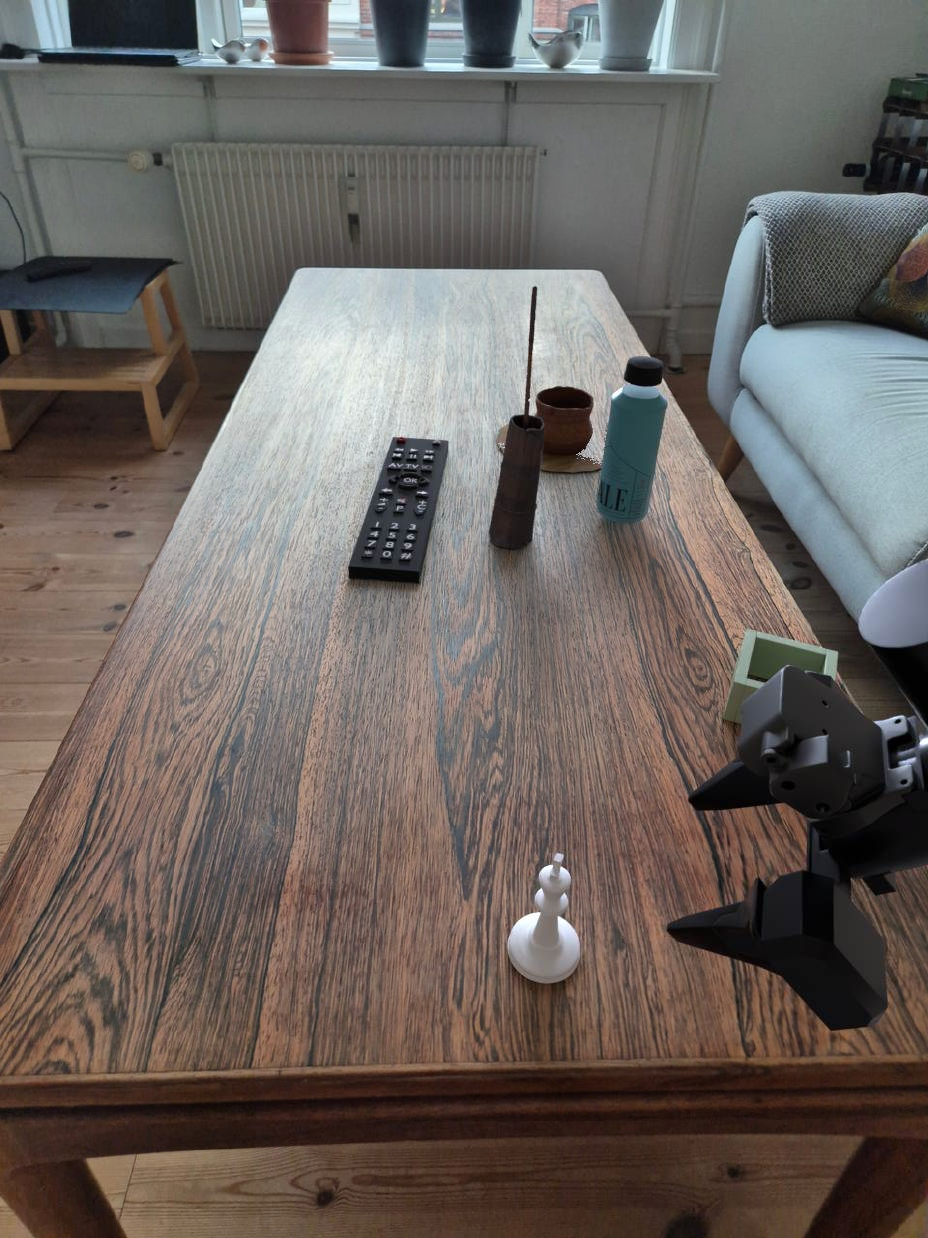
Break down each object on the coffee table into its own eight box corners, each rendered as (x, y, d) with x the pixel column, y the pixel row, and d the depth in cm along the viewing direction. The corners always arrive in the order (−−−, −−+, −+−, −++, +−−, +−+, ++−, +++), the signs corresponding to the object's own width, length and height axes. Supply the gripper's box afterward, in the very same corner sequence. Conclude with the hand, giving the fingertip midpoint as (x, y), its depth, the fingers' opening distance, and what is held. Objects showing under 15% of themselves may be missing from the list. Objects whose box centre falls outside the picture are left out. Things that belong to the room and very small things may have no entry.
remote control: (448, 450, 116) (448, 436, 114) (419, 583, 90) (419, 568, 89) (393, 446, 116) (393, 433, 115) (348, 578, 91) (347, 562, 89)
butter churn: (552, 569, 93) (581, 314, 76) (467, 559, 94) (477, 305, 77) (557, 526, 100) (586, 284, 83) (479, 518, 101) (490, 277, 84)
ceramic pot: (635, 474, 112) (644, 424, 107) (503, 474, 110) (506, 424, 106) (608, 416, 126) (614, 370, 121) (490, 416, 125) (493, 370, 120)
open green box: (824, 688, 79) (838, 651, 76) (817, 746, 73) (833, 709, 70) (735, 664, 81) (746, 628, 78) (722, 719, 75) (733, 681, 72)
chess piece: (587, 929, 58) (606, 838, 52) (570, 994, 55) (589, 904, 48) (518, 908, 59) (529, 816, 53) (498, 969, 56) (507, 879, 50)
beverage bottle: (650, 513, 104) (680, 353, 91) (642, 540, 99) (673, 375, 86) (598, 503, 105) (620, 345, 93) (587, 529, 100) (610, 366, 88)
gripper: (873, 550, 43) (626, 662, 52) (897, 826, 29) (554, 912, 38) (977, 700, 46) (726, 781, 55) (1045, 1017, 32) (693, 1053, 41)
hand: (682, 863), depth 47 cm, fingers open, 9 cm apart
